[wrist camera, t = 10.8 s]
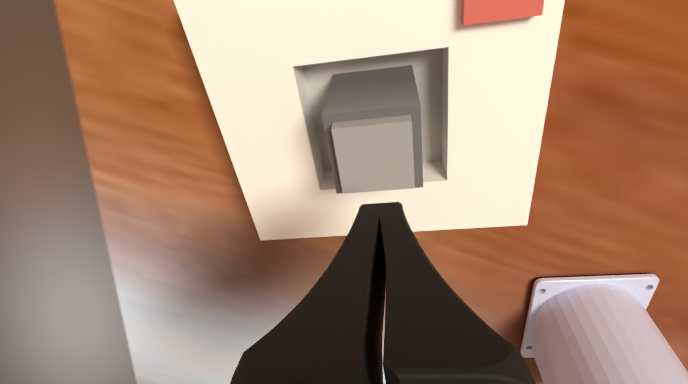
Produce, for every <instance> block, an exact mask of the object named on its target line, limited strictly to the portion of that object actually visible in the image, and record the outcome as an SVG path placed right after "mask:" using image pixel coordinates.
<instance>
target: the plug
mask: <svg viewBox="0 0 688 384" xmlns="http://www.w3.org/2000/svg"><path fill="white" fill-rule="evenodd" d="M322 120H323V125H324V130H325V136H326V141H327V146H328V151H329V157H330V162H331V167H332V172H333V178H334V183H335V188H336V193H337V194H339V193H343V194H345V193H358V192H372V191H385V190H399V189H413V188H420V187H423V163H422V131H421V104H420V99H419V95H418V90H417V85H416V81H415V76H414V72H413V67H412V65H407V66H399V67H390V68H382V69H374V70H365V71H357V72H349V73H340V74H333V77H332V81H331V84H330V88H329V91H328V94H327V98H326V101H325V105H324V108H323V111H322Z"/></svg>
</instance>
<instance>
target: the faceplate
mask: <svg viewBox="0 0 688 384" xmlns="http://www.w3.org/2000/svg"><path fill="white" fill-rule="evenodd" d="M564 2H565V0H174V3H175V5H176V8H177V11H178V14H179V17H180V19H181V22H182V25H183V28H184V30H185V33H186V36H187V39H188V41H189V44H190V47H191V50H192V53H193V55H194V58H195V61H196V64H197V66H198V69H199V72H200V75H201V77H202V80H203V83H204V86H205V88H206V91H207V94H208V97H209V100H210V102H211V105H212V108H213V111H214V113H215V116H216V119H217V122H218V124H219V127H220V130H221V133H222V136H223V138H224V141H225V144H226V147H227V149H228V152H229V155H230V158H231V160H232V163H233V166H234V169H235V172H236V174H237V177H238V180H239V183H240V185H241V188H242V191H243V194H244V196H245V199H246V202H247V205H248V208H249V210H250V213H251V216H252V219H253V221H254V224H255V227H256V230H257V232H258V235H259V238H260V240H277V239H294V238H311V237H328V236H346V235H348V233H349V231H350V229H351V227H352V225H353V223H354V220H355V218H356V216H357V213H358V210H359V207H360V206H361V205H362V204H374V203H388V202H400V203H401V204H402V207H403V211H404V214H405V217H406V219H407V221H408V224H409V226H410V228H411V230H412V232H414V231H431V230H449V229H466V228H483V227H500V226H517V225H527V224H528V218H529V212H530V206H531V200H532V194H533V188H534V182H535V176H536V170H537V164H538V158H539V152H540V146H541V140H542V134H543V128H544V122H545V116H546V110H547V104H548V98H549V92H550V86H551V80H552V74H553V68H554V62H555V56H556V50H557V44H558V38H559V32H560V26H561V20H562V14H563V8H564ZM407 65H412V67H413V72H414V76H415V81H416V85H417V90H418V95H419V99H420V104H421V131H422V163H423V187H420V188H413V189H399V190H385V191H372V192H358V193H345V194H343V193H339V194H337V193H336V188H335V183H334V178H333V172H332V167H331V162H330V157H329V151H328V146H327V141H326V136H325V130H324V125H323V120H322V111H323V108H324V105H325V101H326V98H327V94H328V91H329V88H330V84H331V81H332V77H333V74H340V73H349V72H357V71H365V70H374V69H382V68H390V67H399V66H407Z"/></svg>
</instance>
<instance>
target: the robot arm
mask: <svg viewBox="0 0 688 384" xmlns="http://www.w3.org/2000/svg"><path fill="white" fill-rule="evenodd" d="M658 283H659V279H658V277H657V276H656V275H654V274H632V275H606V276H581V277H555V278H539V279H537V280H536V281H535V282H534V286H533V291H532V295H531V300H530V305H529V310H528V315H527V320H526V325H525V330H524V335H523V340H522V345H521V350H520V352H521V355H522V356H523V357H525V358H535V361H536V364H537V367H538V369H539V372H540V375H541V378H542V381H543V384H688V372H687V370H686V369H685V368H684V366H683V365H682V363H681V362H680V360H679V359H678V357H677V356H676V354H675V353H674V351H673V350H672V348H671V347H670V345H669V344H668V342H667V341H666V339H665V338H664V337H663V335H662V334H661V332H660V331H659V329H658V328H657V326H656V325H655V323H654V322H653V320H652V319H651V317H650V316H649V314H648V313H647V311H646V308H647V306H648V304H649V302H650V300H651V298H652V296H653V293H654V291H655V289H656V287H657V285H658ZM385 289H386V311H385V338H384V357H383V367H384V373H385V380H386V384H535V382H534V379H533V377H532V375H531V373H530V371H529V369H528V368H527V366H526V364H525V362H524V361H523V359H522V357H521V356H520V354H519V352H518V351H517V349H516V348H515V347H514V346H513V345H511V344H510V343H509V342H508V341H506V340H505V339H504V338H503V337H501V336H500V335H499V334H498V333H497V332H495V331H494V330H493V329H492V328H491V327H489V326H488V325H487V324H486V323H485V322H484V321H483V320H482V319H481V318H480V317H478V316H477V315H476V314H475V313H474V312H473V311H472V310H471V309H470V308H469V307H468V306H467V305H466V304H465V303H464V301H463V300H462V299H461V298H460V297H459V296H458V295H457V294H456V293H455V292H454V291H453V290H452V289H451V287H450V286H449V285H448V284H447V283H446V282H445V280H444V279H443V278H442V277H441V275H440V274H439V273H438V271H437V270H436V269H435V267H434V266H433V265H432V263H431V262H430V260H429V259H428V257H427V256H426V254H425V253H424V251H423V250H422V248H421V246H420V245H419V243H418V241H417V239H416V238H415V236H414V234H413V232H412V230H411V228H410V226H409V224H408V221H407V219H406V217H405V214H404V211H403V207H402V204H401V203H400V202H388V203H374V204H362V205H361V206H360V207H359V210H358V213H357V216H356V218H355V220H354V223H353V225H352V227H351V229H350V231H349V233H348V235H347V237H346V238H345V240H344V242H343V244H342V246H341V248H340V249H339V251H338V252H337V254H336V256H335V257H334V259H333V260H332V262H331V264H330V265H329V267H328V268H327V269H326V271H325V272H324V274H323V275H322V276H321V278H320V279H319V280H318V282H317V283H316V284H315V285H314V287H313V288H312V289H311V290H310V291H309V292H308V294H307V295H306V296H305V297H304V298H303V299H302V301H301V302H300V303H299V304H298V305H297V306H296V307H295V308H294V309H293V310H292V311H291V312H290V313H289V314H288V315H287V316H286V317H285V318H284V319H283V320H282V321H281V322H280V323H279V324H277V325H276V326H275V327H274V328H273V329H272V330H271V331H270V332H269V333H267V334H266V335H265V336H264V337H262V338H261V339H260V340H259V341H257V342H256V343H255V344H254V345H252V346H251V347H250V348H249V349H247V350H246V351H245V352H244V353H243V355H242V357H241V359H240V361H239V364H238V366H237V368H236V370H235V372H234V375H233V377H232V380H231V383H230V384H383V372H382V330H383V317H384V303H385Z"/></svg>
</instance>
